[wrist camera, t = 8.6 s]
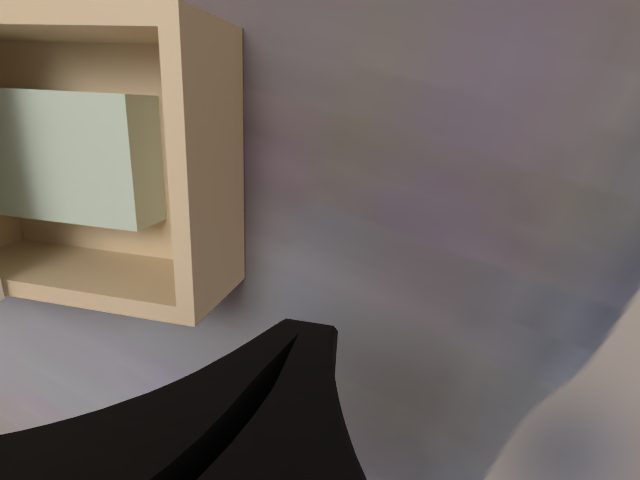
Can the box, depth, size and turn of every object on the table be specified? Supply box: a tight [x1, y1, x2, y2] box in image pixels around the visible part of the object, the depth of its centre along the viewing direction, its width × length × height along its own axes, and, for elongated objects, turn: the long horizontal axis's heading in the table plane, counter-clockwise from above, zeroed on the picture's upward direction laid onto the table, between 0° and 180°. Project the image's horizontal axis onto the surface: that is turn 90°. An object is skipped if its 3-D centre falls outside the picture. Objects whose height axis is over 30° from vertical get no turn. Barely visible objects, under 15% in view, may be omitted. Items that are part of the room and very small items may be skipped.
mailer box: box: [0, 0, 245, 327], centre depth 19 cm, size 12×14×5 cm
